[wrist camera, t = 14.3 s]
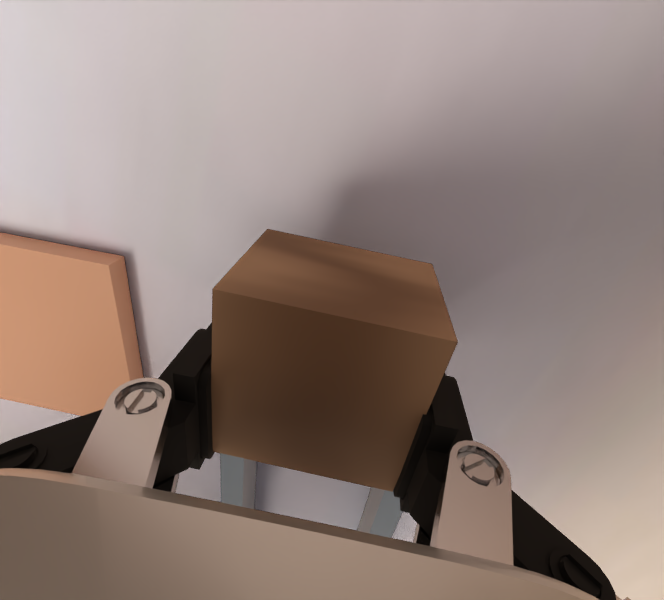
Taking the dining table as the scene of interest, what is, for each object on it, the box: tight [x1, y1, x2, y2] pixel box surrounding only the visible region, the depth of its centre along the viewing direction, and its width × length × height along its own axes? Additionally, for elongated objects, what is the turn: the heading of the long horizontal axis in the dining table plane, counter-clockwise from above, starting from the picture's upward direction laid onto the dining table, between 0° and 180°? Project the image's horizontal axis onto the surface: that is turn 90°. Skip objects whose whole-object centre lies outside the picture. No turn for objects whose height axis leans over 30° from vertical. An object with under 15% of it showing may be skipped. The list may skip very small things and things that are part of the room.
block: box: [211, 229, 458, 492], centre depth 10 cm, size 5×5×4 cm
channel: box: [220, 453, 403, 538], centre depth 22 cm, size 9×18×2 cm, turn 172°
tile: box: [0, 232, 143, 416], centre depth 18 cm, size 10×10×1 cm
